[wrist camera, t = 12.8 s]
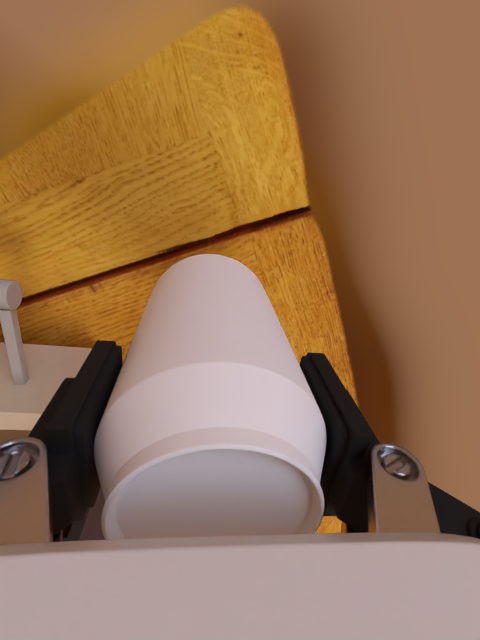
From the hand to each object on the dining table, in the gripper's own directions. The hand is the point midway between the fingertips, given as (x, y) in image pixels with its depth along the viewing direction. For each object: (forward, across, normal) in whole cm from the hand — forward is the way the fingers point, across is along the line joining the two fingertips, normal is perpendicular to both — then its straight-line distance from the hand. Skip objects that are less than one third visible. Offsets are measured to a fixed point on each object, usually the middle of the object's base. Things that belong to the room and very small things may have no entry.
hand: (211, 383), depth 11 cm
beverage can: (+7, 0, 0) cm, 7 cm away
